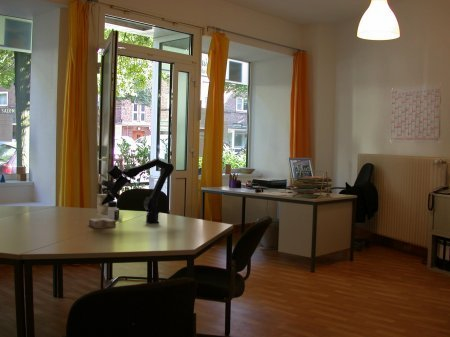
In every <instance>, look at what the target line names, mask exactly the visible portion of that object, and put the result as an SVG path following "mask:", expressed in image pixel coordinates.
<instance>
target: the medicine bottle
mask: <svg viewBox="0 0 450 337" xmlns="http://www.w3.org/2000/svg"><path fill="white" fill-rule="evenodd" d="M103 218H110V219H112V220H115V221H116V222H117V221H119V220H120V208H118V201H115V200H113V201H111V202H108V215H103Z"/></svg>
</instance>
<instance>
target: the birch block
mask: <svg viewBox="0 0 450 337" xmlns="http://www.w3.org/2000/svg"><path fill="white" fill-rule="evenodd" d="M106 196H107V194H102V193H97V194H96V199H97V200H96V207H97V208H96V215H97V216H100V217H104V215H108V203H106V204H104V205H102V204H101V203H102V202H103V200H104V199H105V198H106Z"/></svg>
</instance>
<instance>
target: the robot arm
mask: <svg viewBox="0 0 450 337" xmlns="http://www.w3.org/2000/svg"><path fill="white" fill-rule="evenodd" d="M154 167H158V168H159V169H160V171H159V176H158V179H157V180H156V183H155V185H154V187H153V190H152V192H151V193H150V196H146V197H145V199H144V201H143V208H144V210H145V211H146V215H145V216H146V219H145V220H146V221H145V222H146V223H147V224H159V223H160V222H159V213H160V210H161V209H160V208H159V207H158V206H157V205H158V198H159V197H160V194H161V191H162V190H163V187H164V185H165V183H166V180H167V179H168V177H169V176H171V174H172V173H173V172H174V170H175V166H174V164H173V163H169V162H165V161H162V160H161V159H159V158H154V159H152V160H150V161H146V162H144V163H142V164H140V165H139V164H138V165H137V166H131V167H130V166H129V167H126V168H124V170H123V169H122V170H121V169H120V168H119V166H118V165H117V164H114V165H113V166H111V167H110V168H108V170H107V171H106V173H107V174H108V175H109V176H110V178H112V180H115V181H114V182H112V180H110V179H108V180H106V179H102V180H101V182H100V185H101V186H103V187H102V188H101V189H100V191H101V194H107V196H106V198H105V199H104V200H103V202H102V203H101V204H102V205H104V204H106V203H108V202H111V201H115V200H119V199H120V198H121V195H120V193H119V192H120V191H122V190H123V188H124V186H126V185H127V184H128V185H131V184H132V183H131V182H132V181H131V179H133V178H135V177H137V176H138V175H139V174H140V173H142V172H145V171H147V170H150V169H152V168H154Z"/></svg>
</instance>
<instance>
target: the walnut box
mask: <svg viewBox="0 0 450 337" xmlns="http://www.w3.org/2000/svg"><path fill="white" fill-rule="evenodd" d="M116 222H117V221H115V220H112V219H110V218H104V217H103V218H102V217H101V218H89V220H88V226H90V227H92V228H94V229H96V230H97V229H107V228H116V227H117V226H116Z"/></svg>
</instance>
